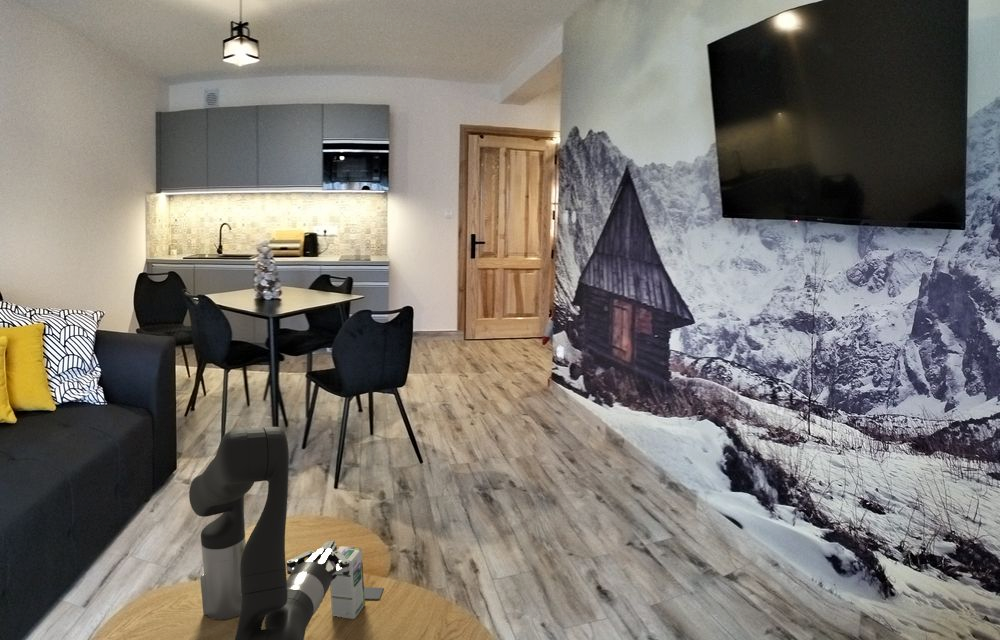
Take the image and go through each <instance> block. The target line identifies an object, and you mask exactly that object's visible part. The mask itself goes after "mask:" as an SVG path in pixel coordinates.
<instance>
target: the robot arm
mask: <svg viewBox="0 0 1000 640" xmlns="http://www.w3.org/2000/svg"><path fill="white" fill-rule="evenodd" d="M218 445H219V446H218V448H217V451H216V453H215V456H214V457H213V459H212V460H211V461H210V462H209V464H208V465H207V466H206V468H205V470H204V471H203V472H202V473H201V474H199V475H197V476H196V477H194V478H193V479H192V481H191V483H190V487H189V493H188V498H189V504H190V507H191V510H192V511H193V513H194V514H195V515H197V516H198V517H203V518H205V517H206V518H207V517H211V516H216V515H219V514H220V515H219V517H217V518H215V520H213V521H211V522H209V523H208V524H207V525H205V526H204V528H202V530H201V532H200V543H201V555H202V556H201V557H202V564H203V565H202V566H203V567H202V569H203V573H201V575H200V579H199V580H200V589H201V590H200V591H201V603H202V613H203V616H208V617H209V618H211V619H214V620H228V619H233V618H236V617H238V616H239V617H238V621H237V628H236V632H235V637H234V640H305V635H306V629H307V627H308V625H309V623H310V622H311V620H312V618H313V616H314V615H315V614H316V612H317V611H318V609H319V607H320V606H321V604H322V603H323V601H324V598H325V597H326V594H327V593H328V590H330V584H331V581H332V580H334V579H335V578H336V577H337V574H340V573H343V575H348V574H349V561H348V560H347V559H346V558H345V557H344V556H343V555H342V554H341V552H340V551H337V550H338V548H337V547H338V546H337V543H336V542H335V540H327V541H326V542H324V543H323V544H322V545H321V547H320V548H318V549H317V550H316V551H314V550H313V549H310V550H308V551H305V552H302V553H301V554H299V555H296V556H294V557H292V558H290V559H288V560H286V525H287V513H288V512H287V511H288V493H289V492H288V491H289V490H288V488H289V471H290V470H289V469H290V465H289V464H290V453H289V452H290V451H289V443H288V438H287V434H286V433H285V431H284V429H283V428H281V427H279V426H264V427H252V428H251V427H249V428H236V429H232V430H229V431H228V432H226V433H225V434H224V435H223V436H222V438H221V440H220V442H219V444H218ZM266 481H267V483H268V488H267V489H268V490H267V494H266V495H267V497H266V500H265V501H266V502H265V504H264V507H263V510H262V511H261V513H260V516H259V518H258V521H256V524H255V526H254V528H253V530H252V532H251V534H250V535H249V537H248V539H247V540H246V531H245V529H246V528H245V525H246V524H245V500H244V499H245V495H246V494H247V493H248V492H249V491H250V490H251V489H252V487H253V486H254V485H255V483H256V482H257V483H259V482H266ZM332 562H334V564H335V566H336V567H335V566H334V565H333V563H332ZM287 575H289V577H288V578H287ZM263 623H264V629H262V626H263Z"/></svg>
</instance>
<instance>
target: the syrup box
mask: <svg viewBox="0 0 1000 640" xmlns="http://www.w3.org/2000/svg"><path fill="white" fill-rule="evenodd" d="M337 551H340V552H341V554H342V555H343V556H344V557H345V558H346V559H347V560H348V561H349V574H348V575H343V573H340V574H337V577H336V578H335V579H334V580H332V581H331V584H330V586H329V591H330V602H331V606H330V607H331V616H332V617H335V616H337V617H336V618H341V617H342V618H343V619H350V620H355V619H356V618H357V616H358V615H359V614H360V612H361V611H362V610H363V608H364V606H365V605H366V601H365V598H364V587H365V583H364V568H363V567H364V566H363V564H364V563H363V550H362V548H359V547H354V546H341V545H340V546H339V547H338V548H337ZM332 563H333V565H334V566H335V564H334V562H332ZM335 567H336V566H335Z"/></svg>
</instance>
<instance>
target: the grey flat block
mask: <svg viewBox="0 0 1000 640" xmlns="http://www.w3.org/2000/svg"><path fill="white" fill-rule="evenodd" d="M383 592H384V587H370V586H368V587H367V586H364V598H365V600H366V599H370V600H371V599H372V600H371V601H380V599H381V596H382V594H383ZM373 599H374V600H373ZM370 600H369V601H370ZM366 601H367V600H366Z"/></svg>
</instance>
